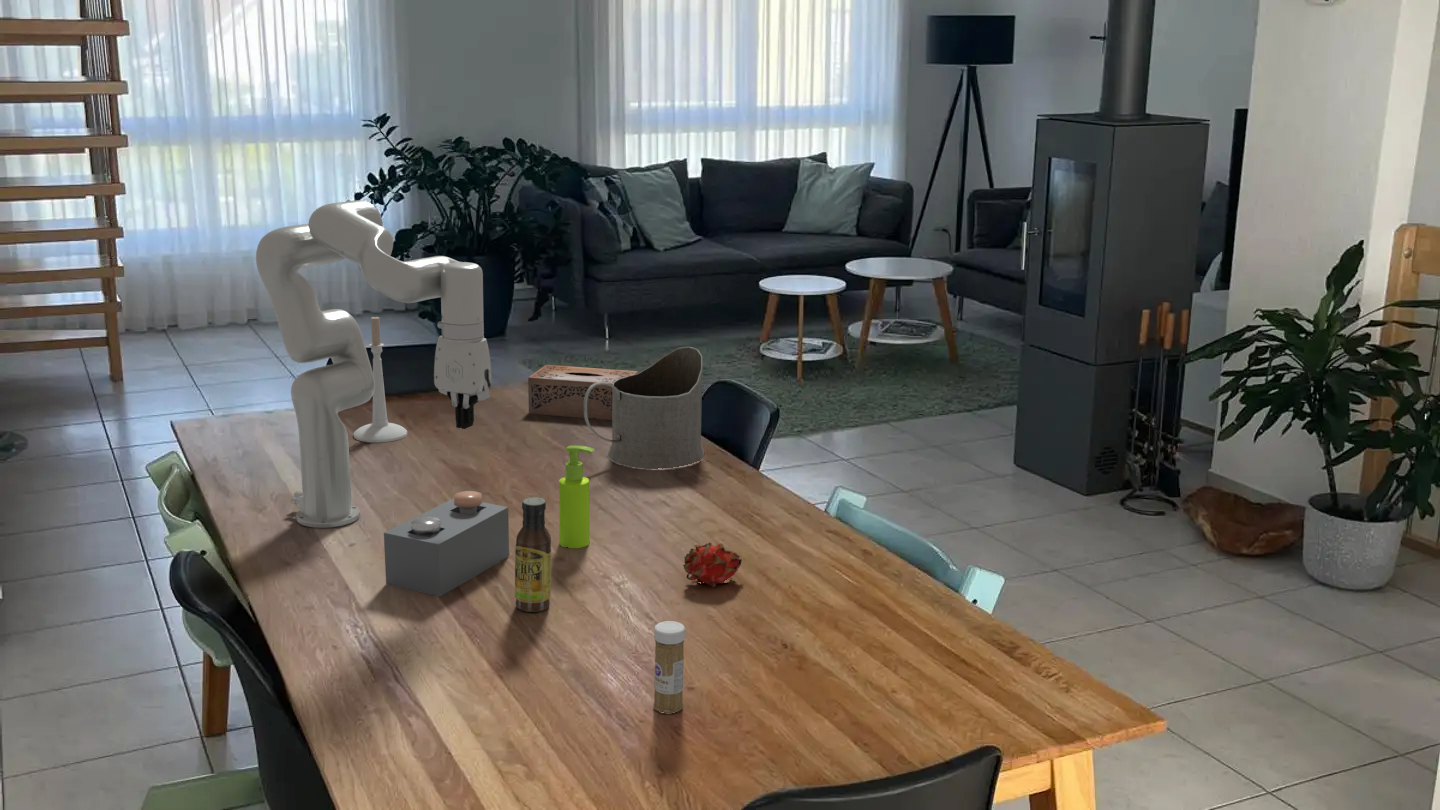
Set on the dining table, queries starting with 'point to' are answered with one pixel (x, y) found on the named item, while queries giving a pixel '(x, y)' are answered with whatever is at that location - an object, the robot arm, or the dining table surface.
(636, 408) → the pitcher
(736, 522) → the dining table surface
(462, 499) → the terracotta plunger
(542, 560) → the sauce bottle
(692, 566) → the dragon fruit
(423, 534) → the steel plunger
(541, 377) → the tissue box cover
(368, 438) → the candlestick
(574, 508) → the soap dispenser
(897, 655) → the dining table surface
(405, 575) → the button box
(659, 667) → the sprinkles bottle
